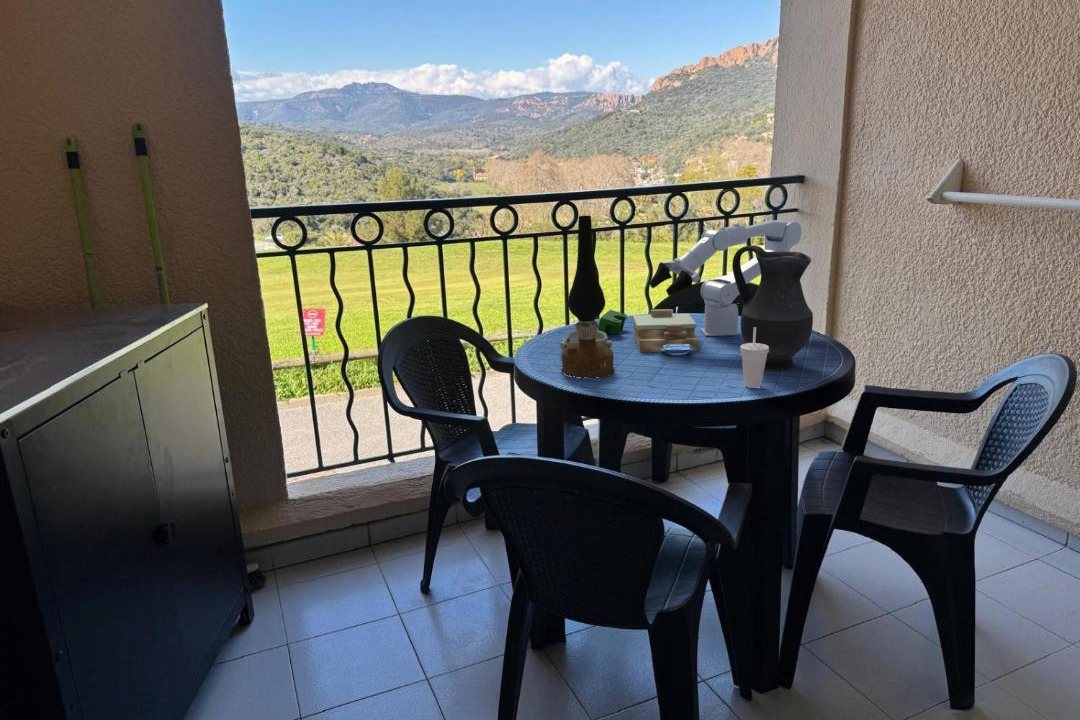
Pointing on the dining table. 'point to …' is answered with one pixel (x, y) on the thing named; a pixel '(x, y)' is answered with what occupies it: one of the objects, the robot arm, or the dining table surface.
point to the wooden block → (675, 335)
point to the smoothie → (753, 361)
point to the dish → (574, 335)
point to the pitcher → (775, 305)
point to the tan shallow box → (661, 339)
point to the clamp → (612, 322)
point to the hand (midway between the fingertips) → (659, 289)
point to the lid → (664, 321)
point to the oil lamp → (586, 314)
